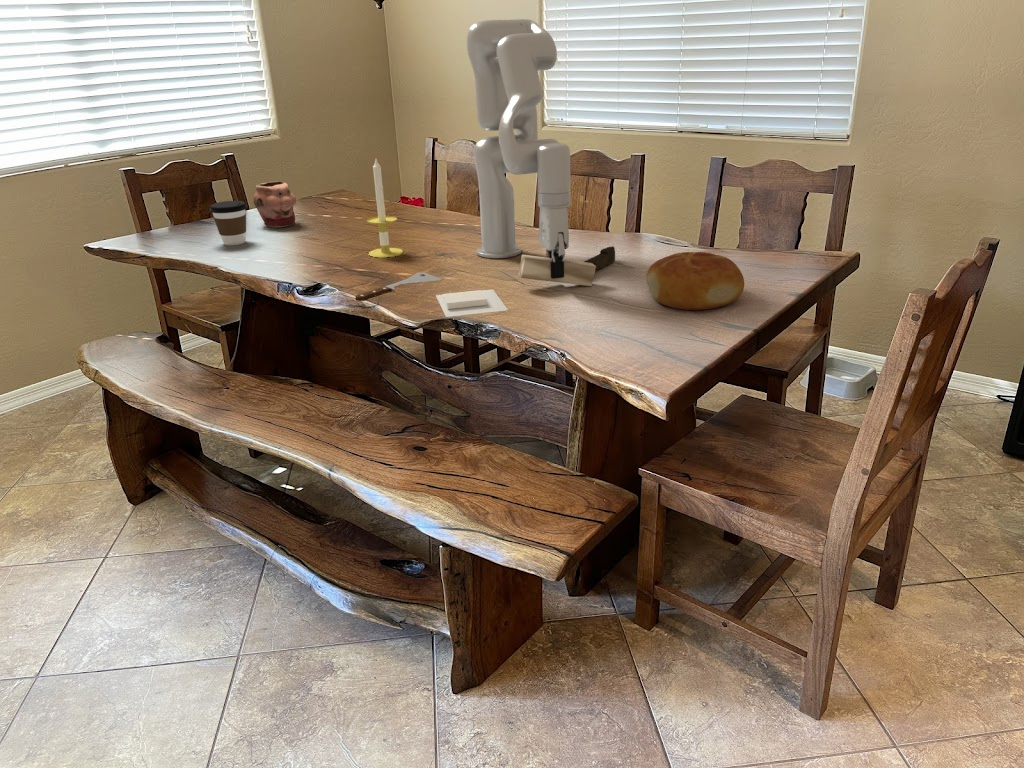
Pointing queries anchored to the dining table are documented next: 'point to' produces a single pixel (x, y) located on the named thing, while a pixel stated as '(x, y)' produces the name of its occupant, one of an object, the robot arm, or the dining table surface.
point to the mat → (492, 306)
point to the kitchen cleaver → (413, 279)
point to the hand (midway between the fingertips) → (555, 275)
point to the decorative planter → (275, 204)
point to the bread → (695, 281)
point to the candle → (382, 219)
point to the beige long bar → (542, 270)
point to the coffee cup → (230, 221)
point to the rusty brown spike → (603, 258)
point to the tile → (464, 299)
